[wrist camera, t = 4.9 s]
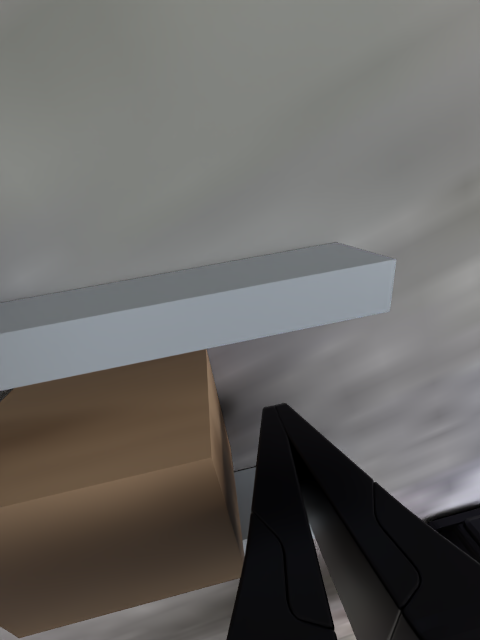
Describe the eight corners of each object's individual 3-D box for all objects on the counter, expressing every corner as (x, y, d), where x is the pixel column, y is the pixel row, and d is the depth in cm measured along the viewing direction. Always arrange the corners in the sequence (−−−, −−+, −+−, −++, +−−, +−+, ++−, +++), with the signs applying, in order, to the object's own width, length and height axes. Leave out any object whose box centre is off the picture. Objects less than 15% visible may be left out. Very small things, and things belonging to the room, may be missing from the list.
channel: (331, 465, 12) (361, 525, 10) (84, 526, 11) (56, 607, 9) (336, 242, 7) (396, 259, 5) (-78, 316, 7) (-219, 374, 4)
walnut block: (230, 448, 10) (247, 576, 7) (83, 482, 10) (19, 638, 6) (205, 347, 8) (211, 457, 5) (16, 386, 8) (-137, 539, 4)
